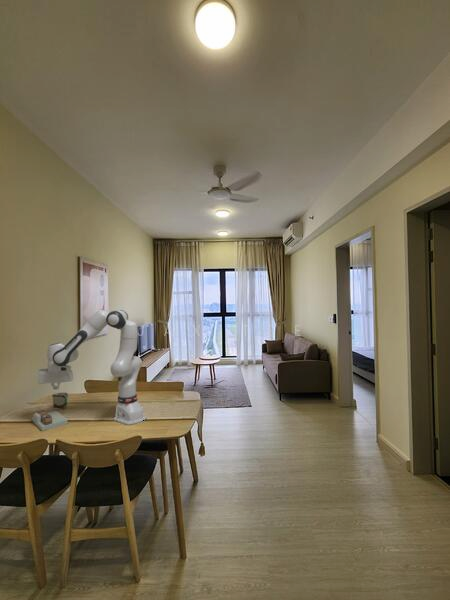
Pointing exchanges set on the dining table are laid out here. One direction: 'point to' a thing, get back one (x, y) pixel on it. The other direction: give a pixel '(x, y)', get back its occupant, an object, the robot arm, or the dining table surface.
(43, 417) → the brown long bar
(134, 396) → the robot arm
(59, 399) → the food container
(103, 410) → the dining table surface
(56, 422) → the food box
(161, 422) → the dining table surface
